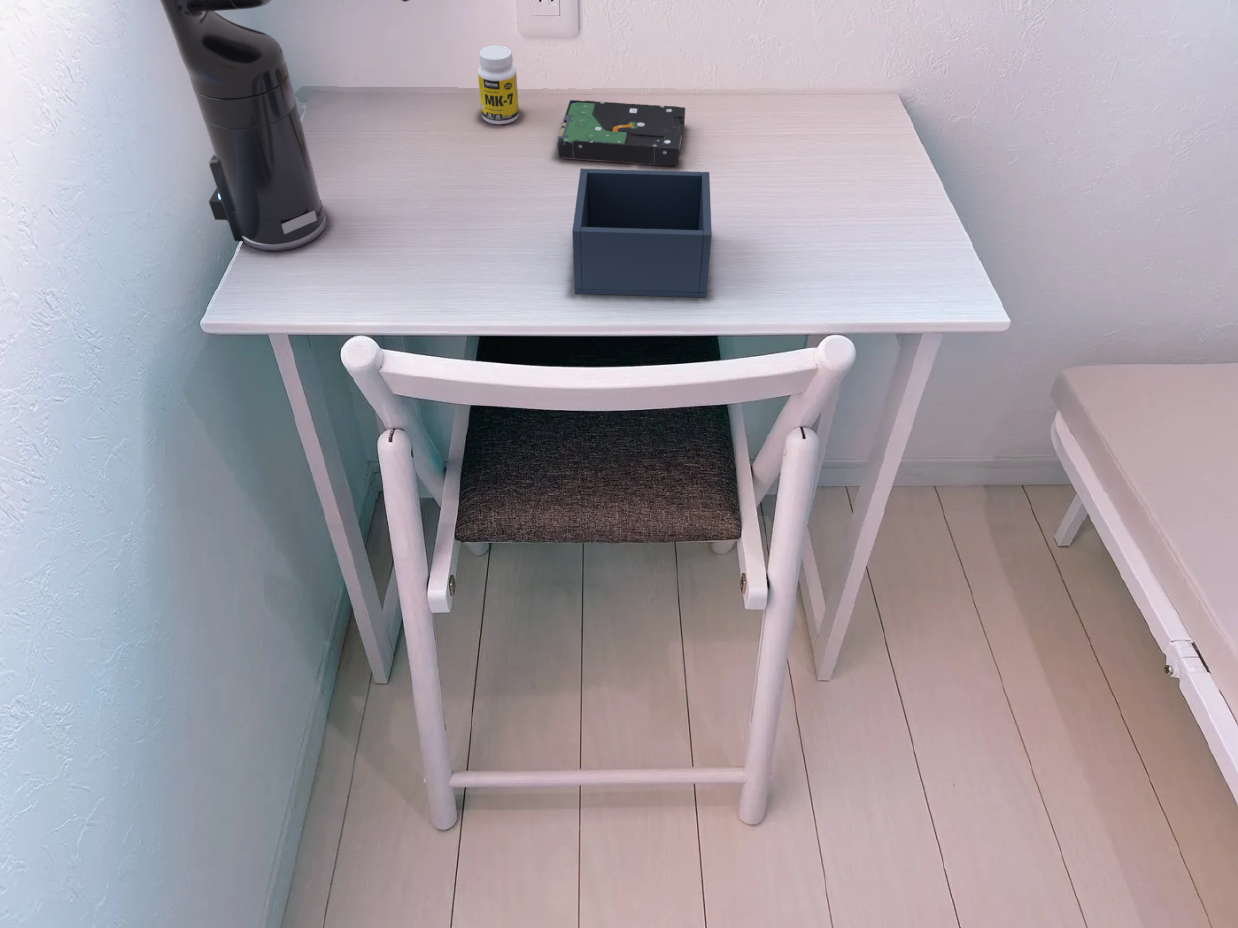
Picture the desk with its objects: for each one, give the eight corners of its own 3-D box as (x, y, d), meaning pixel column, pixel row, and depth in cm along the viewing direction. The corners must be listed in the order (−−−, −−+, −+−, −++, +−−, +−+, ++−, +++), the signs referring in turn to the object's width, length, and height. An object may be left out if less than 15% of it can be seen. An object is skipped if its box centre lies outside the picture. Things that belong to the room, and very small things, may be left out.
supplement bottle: (483, 126, 124) (476, 62, 118) (481, 109, 128) (474, 44, 121) (520, 124, 125) (516, 59, 119) (517, 106, 128) (513, 42, 122)
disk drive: (684, 126, 125) (569, 118, 126) (685, 106, 123) (568, 97, 124) (678, 169, 118) (556, 160, 119) (680, 148, 116) (556, 139, 117)
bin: (574, 293, 101) (572, 231, 96) (582, 229, 109) (580, 168, 104) (706, 297, 101) (711, 235, 95) (704, 233, 109) (709, 171, 103)
